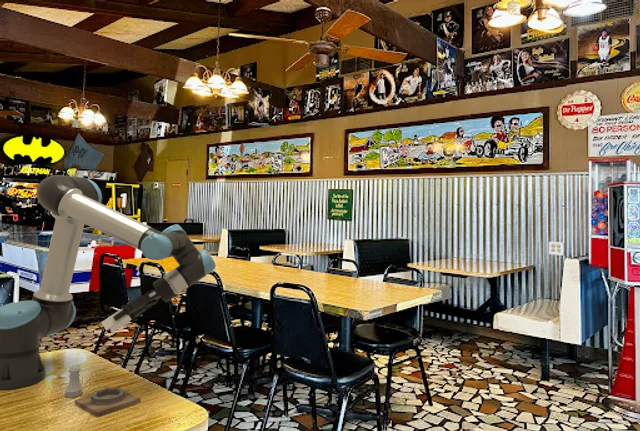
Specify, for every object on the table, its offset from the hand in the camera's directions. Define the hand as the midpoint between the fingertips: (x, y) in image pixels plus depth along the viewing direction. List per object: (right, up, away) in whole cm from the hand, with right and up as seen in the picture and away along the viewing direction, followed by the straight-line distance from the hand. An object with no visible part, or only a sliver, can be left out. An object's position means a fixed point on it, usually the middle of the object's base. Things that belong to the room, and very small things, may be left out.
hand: (106, 327), depth 135 cm
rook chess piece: (-7, -18, -5) cm, 20 cm away
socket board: (+5, -18, -10) cm, 22 cm away
